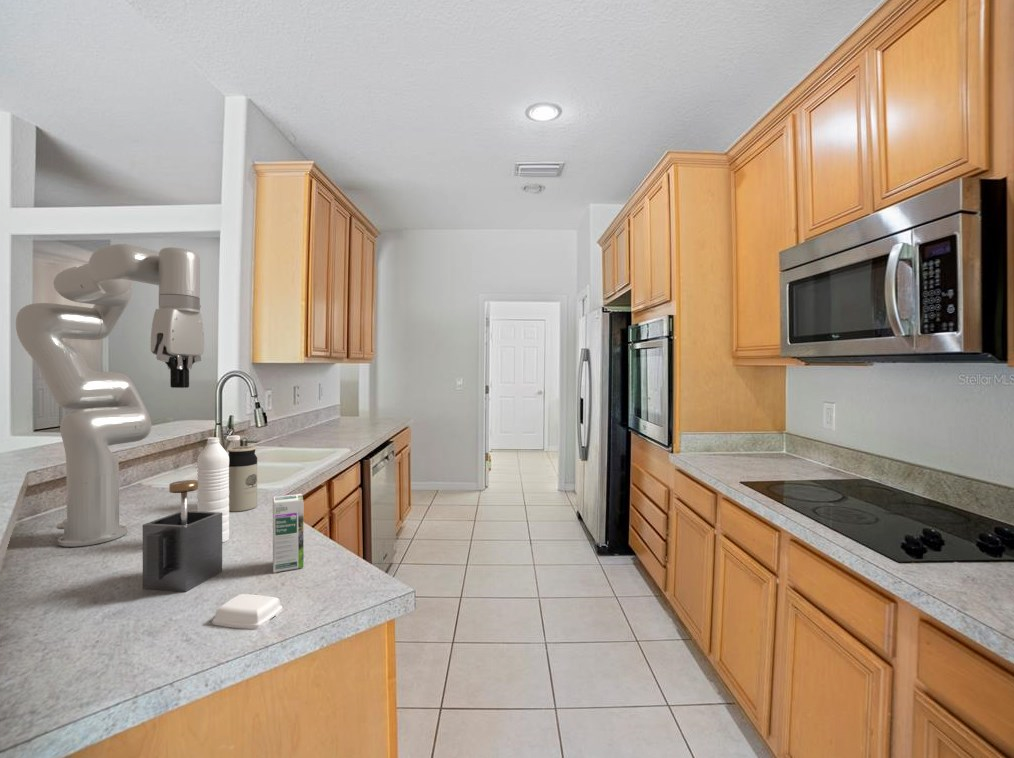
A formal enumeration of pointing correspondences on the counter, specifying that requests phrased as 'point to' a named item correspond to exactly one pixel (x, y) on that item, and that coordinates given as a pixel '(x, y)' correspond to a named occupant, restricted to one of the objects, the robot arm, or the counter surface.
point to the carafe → (182, 551)
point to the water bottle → (214, 481)
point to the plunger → (183, 495)
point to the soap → (247, 611)
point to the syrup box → (288, 533)
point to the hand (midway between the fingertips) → (179, 387)
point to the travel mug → (242, 478)
